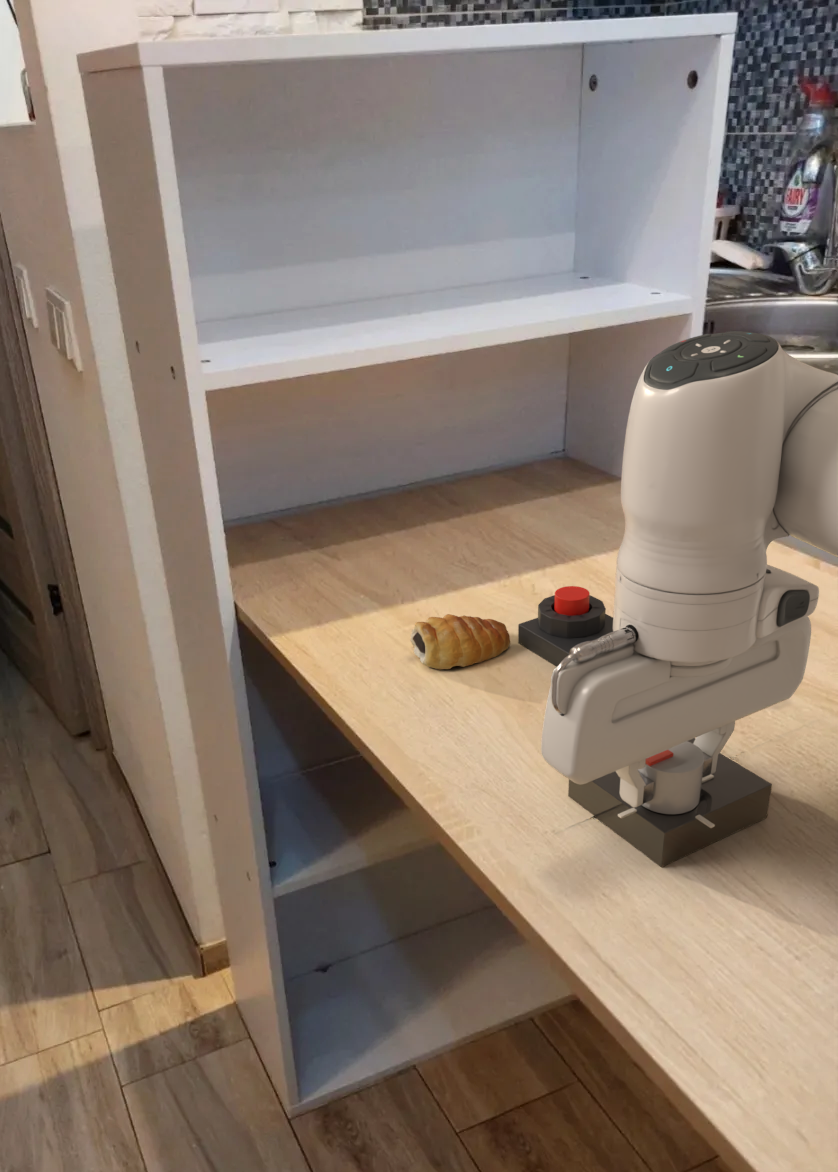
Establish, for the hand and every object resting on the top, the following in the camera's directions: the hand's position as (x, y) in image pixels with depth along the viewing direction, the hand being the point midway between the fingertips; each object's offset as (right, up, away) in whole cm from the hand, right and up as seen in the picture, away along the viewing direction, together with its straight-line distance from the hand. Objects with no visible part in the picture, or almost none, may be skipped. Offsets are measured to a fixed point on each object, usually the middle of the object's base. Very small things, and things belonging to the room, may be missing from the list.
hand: (668, 786), depth 72 cm
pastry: (-12, +11, +28) cm, 32 cm away
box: (0, +11, +25) cm, 28 cm away
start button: (-1, +15, +26) cm, 30 cm away
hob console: (+1, -2, +4) cm, 5 cm away
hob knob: (0, -1, 0) cm, 1 cm away
